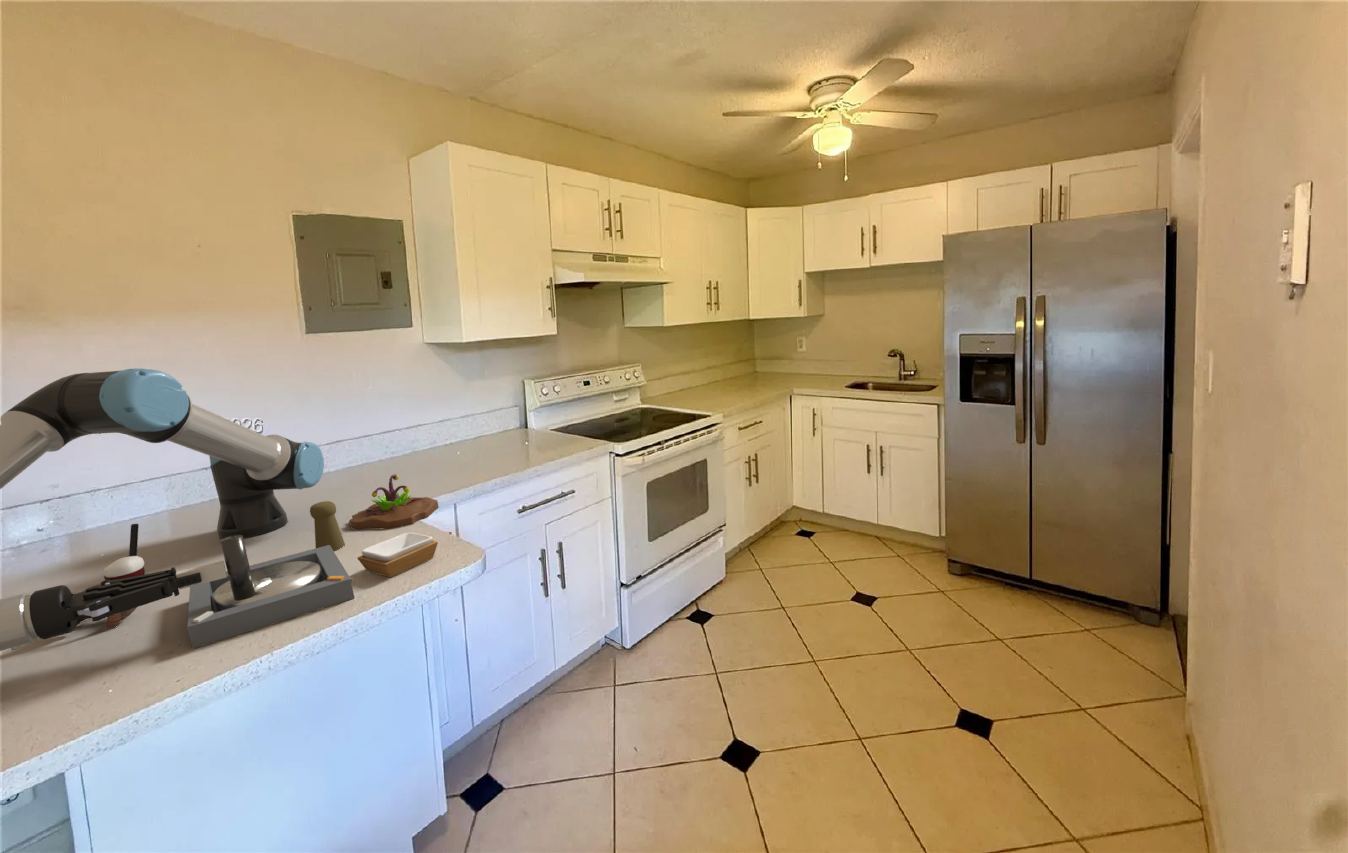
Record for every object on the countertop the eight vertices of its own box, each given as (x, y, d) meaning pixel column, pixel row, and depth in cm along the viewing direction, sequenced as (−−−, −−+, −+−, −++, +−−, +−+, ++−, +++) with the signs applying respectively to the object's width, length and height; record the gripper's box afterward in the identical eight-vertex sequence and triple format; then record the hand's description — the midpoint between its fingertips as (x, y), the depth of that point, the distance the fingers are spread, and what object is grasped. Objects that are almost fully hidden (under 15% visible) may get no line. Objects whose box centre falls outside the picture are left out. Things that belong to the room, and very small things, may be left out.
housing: (194, 599, 118) (189, 579, 117) (333, 561, 132) (329, 543, 131) (193, 649, 99) (186, 625, 98) (354, 598, 113) (350, 576, 112)
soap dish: (389, 582, 120) (384, 558, 119) (359, 574, 125) (354, 551, 124) (441, 557, 130) (437, 535, 129) (411, 551, 135) (408, 529, 134)
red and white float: (112, 599, 122) (94, 545, 119) (95, 594, 125) (78, 541, 122) (166, 577, 130) (150, 525, 127) (149, 573, 133) (134, 522, 130)
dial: (257, 573, 124) (243, 513, 121) (339, 567, 123) (327, 506, 121) (192, 615, 107) (174, 546, 104) (287, 608, 107) (271, 539, 104)
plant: (451, 504, 168) (445, 465, 166) (409, 530, 150) (402, 486, 147) (386, 505, 172) (379, 467, 170) (338, 531, 153) (329, 488, 151)
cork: (332, 553, 137) (323, 507, 135) (309, 553, 138) (300, 507, 136) (351, 543, 143) (342, 498, 141) (329, 542, 144) (320, 498, 142)
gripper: (51, 623, 98) (229, 577, 112) (31, 656, 88) (230, 601, 101) (38, 580, 97) (220, 539, 110) (17, 608, 86) (220, 559, 100)
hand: (225, 568), depth 106 cm, fingers closed
